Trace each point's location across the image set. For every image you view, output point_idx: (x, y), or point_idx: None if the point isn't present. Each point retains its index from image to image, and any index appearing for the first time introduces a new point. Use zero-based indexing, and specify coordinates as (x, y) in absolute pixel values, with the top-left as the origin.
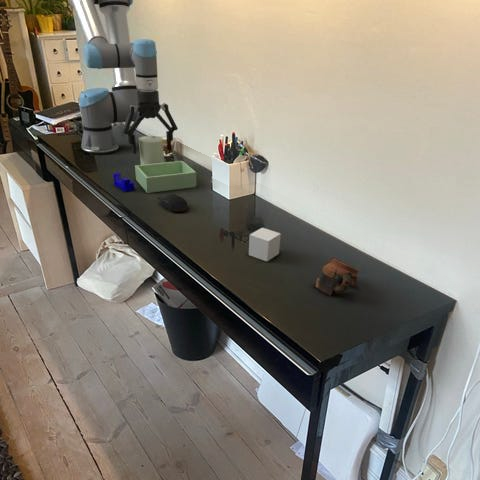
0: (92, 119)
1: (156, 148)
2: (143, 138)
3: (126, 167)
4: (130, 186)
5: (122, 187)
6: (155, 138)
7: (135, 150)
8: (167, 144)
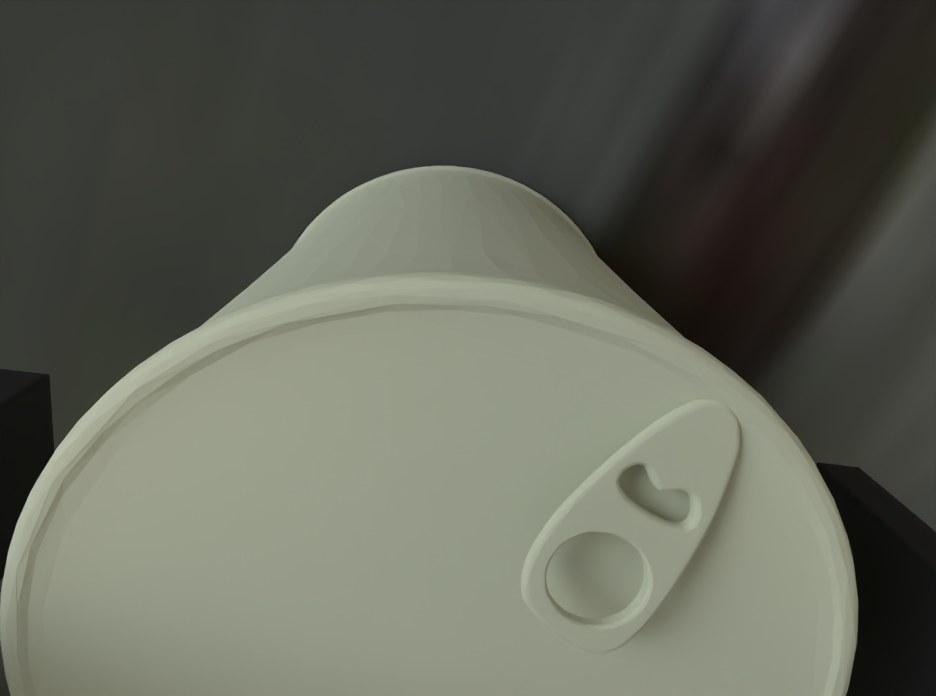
0: None
1: None
2: (217, 535)
3: (100, 52)
4: None
5: None
6: (610, 676)
7: (1, 565)
8: (868, 562)
